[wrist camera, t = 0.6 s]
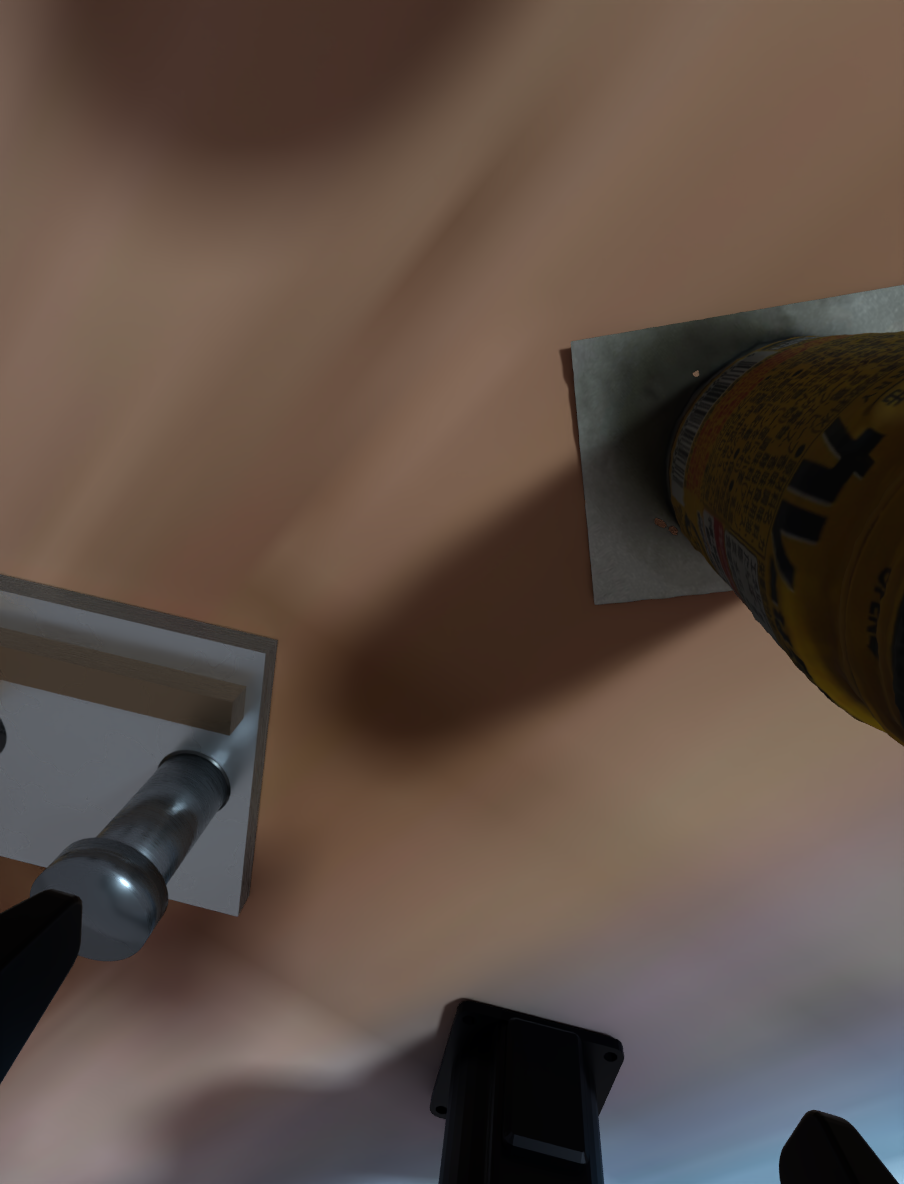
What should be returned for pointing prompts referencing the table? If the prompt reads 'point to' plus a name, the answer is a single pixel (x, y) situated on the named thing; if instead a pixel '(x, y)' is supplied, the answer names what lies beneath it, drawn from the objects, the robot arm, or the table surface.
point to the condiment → (761, 479)
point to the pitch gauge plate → (129, 757)
